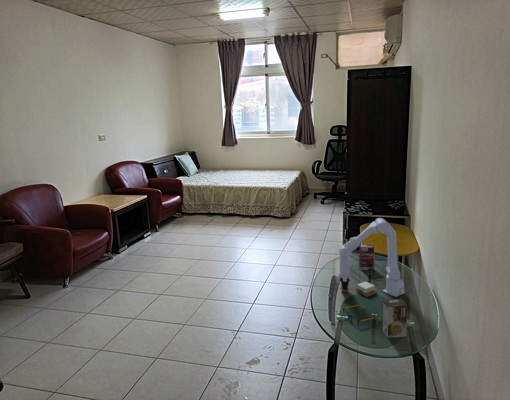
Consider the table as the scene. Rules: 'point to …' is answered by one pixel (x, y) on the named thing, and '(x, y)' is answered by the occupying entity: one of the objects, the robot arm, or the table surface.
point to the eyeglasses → (355, 318)
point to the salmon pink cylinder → (345, 290)
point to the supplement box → (366, 257)
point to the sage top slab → (365, 287)
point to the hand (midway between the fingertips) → (344, 287)
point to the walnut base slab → (367, 292)
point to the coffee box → (394, 318)
